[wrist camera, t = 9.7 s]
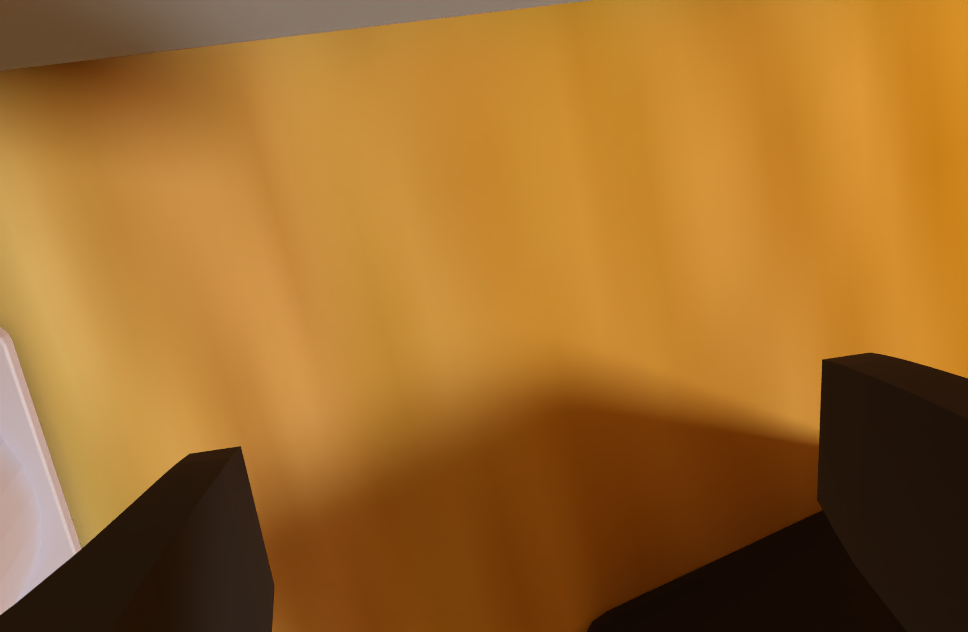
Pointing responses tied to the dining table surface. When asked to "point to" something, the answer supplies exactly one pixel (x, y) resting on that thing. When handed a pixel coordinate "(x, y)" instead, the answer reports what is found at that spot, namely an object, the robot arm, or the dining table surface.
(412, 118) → the dining table surface
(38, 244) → the dining table surface
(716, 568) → the electronic device
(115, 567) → the robot arm
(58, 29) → the board
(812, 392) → the dining table surface
